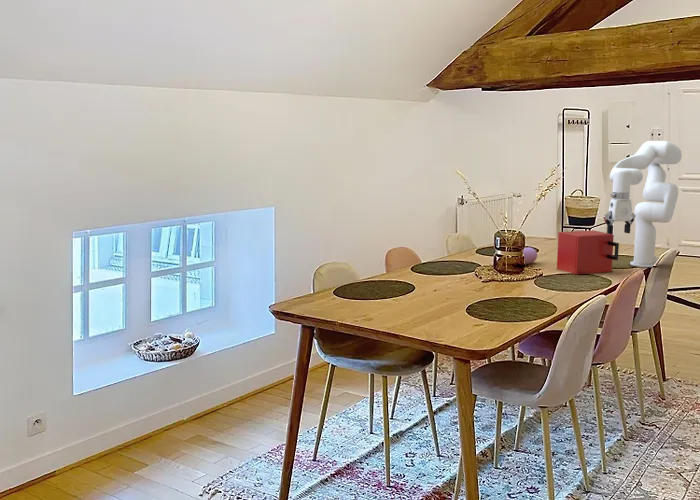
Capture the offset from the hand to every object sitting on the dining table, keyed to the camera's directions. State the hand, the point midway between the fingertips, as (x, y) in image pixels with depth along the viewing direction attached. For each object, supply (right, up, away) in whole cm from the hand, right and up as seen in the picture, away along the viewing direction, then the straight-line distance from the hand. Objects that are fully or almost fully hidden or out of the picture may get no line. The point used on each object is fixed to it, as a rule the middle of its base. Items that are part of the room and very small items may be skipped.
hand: (618, 233), depth 328 cm
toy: (-37, -15, +29) cm, 49 cm away
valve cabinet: (-12, -17, +14) cm, 25 cm away
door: (-8, -19, +4) cm, 21 cm away
